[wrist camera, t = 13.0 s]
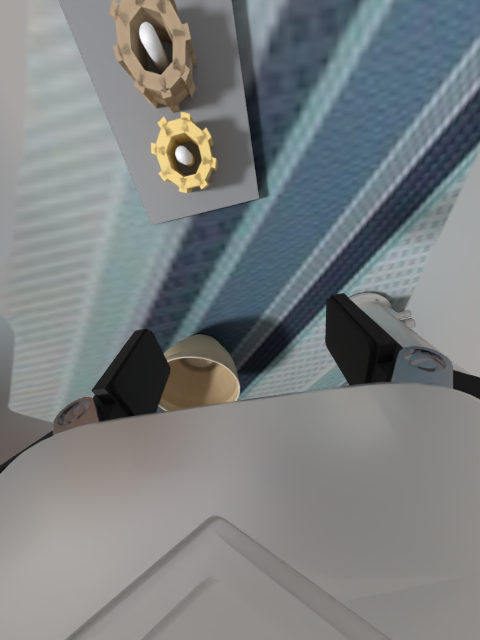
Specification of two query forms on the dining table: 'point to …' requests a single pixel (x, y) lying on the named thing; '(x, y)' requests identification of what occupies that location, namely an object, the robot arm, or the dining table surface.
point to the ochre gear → (167, 146)
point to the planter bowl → (199, 374)
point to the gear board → (205, 107)
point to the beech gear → (160, 11)
